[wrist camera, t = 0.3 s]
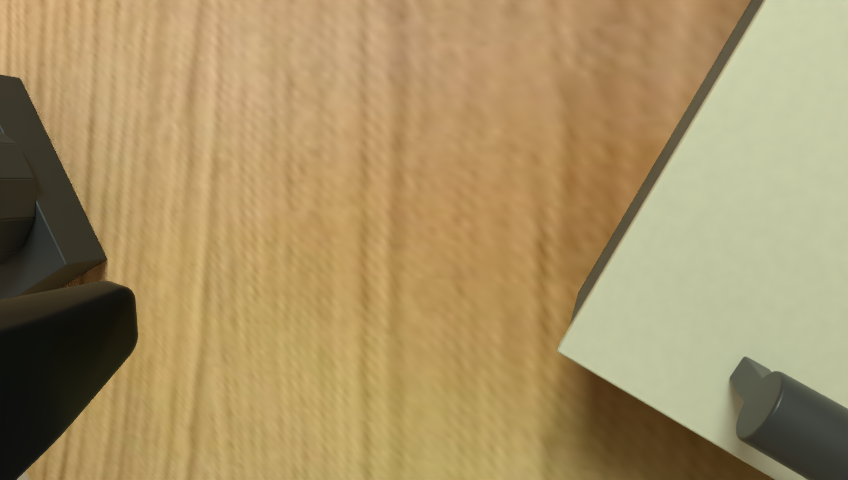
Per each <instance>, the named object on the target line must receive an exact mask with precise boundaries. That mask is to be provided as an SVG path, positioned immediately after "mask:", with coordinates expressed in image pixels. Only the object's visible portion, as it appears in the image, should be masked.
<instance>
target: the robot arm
mask: <svg viewBox="0 0 848 480" xmlns="http://www.w3.org/2000/svg"><path fill="white" fill-rule="evenodd" d="M137 339H138V328H137V314H136V301H135V295H134V294H133V292H132V290H130V289H129V288H128V287H125V286H122V285H119V284H116V283H114V282H111V281H97V282H92V283H86V284H81V285H76V286H71V287H65V288H60V289H55V290H49V291H44V292H39V293H34V294H28V295H23V296H18V297H13V298H7V299H2V300H0V480H17V479H18V478H19V477H20V476H21V475H22V474H23V473H24V472H25V471H26V470H27V469H28V468H29V467H30V466H31V465H32V464H33V463H34V462H35V461H36V460H37V459H38V458H39V457H40V456H41V455H42V454H43V453H44V452H45V451H46V450H47V449H48V448H49V447H50V446H51V445H52V444H53V443H54V442H55V441H56V440H57V439H58V438H59V437H60V436H61V435H62V434H63V433H64V431H65V430H66V429H67V428H68V427H69V426H70V425H71V424H72V423H73V421H74V420H75V419H76V418H77V417H78V416H79V414H80V413H81V412H82V411H83V410H84V409H85V407H86V406H87V405H88V404H89V403H90V401H91V400H92V399H93V398H94V397H95V396H96V394H97V393H98V392H99V391H100V390H101V389H102V387H103V386H104V385H105V384H106V383H107V382H108V380H109V379H110V378H111V377H112V376H113V375H114V373H115V372H116V371H117V370H118V369H119V367H120V366H121V365H122V364H123V363H124V362H125V360H126V359H127V358H128V357H129V356H130V355H131V353H132V352H133V350H134V348H135V346H136V343H137Z"/></svg>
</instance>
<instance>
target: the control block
mask: <svg viewBox="0 0 848 480" xmlns="http://www.w3.org/2000/svg"><path fill="white" fill-rule="evenodd" d="M104 260H106V256H105V254H104V252H103V250H102V248H101V246H100V244H99V242H98V240H97V238H96V235H95V233H94V231H93V229H92V227H91V225H90V223H89V221H88V219H87V217H86V215H85V213H84V210H83V208H82V206H81V204H80V202H79V200H78V198H77V196H76V194H75V192H74V190H73V188H72V186H71V183H70V181H69V179H68V177H67V175H66V173H65V171H64V169H63V167H62V165H61V163H60V161H59V159H58V156H57V154H56V152H55V150H54V148H53V146H52V144H51V142H50V140H49V138H48V136H47V134H46V132H45V129H44V127H43V125H42V123H41V121H40V119H39V117H38V115H37V113H36V111H35V109H34V107H33V105H32V102H31V100H30V98H29V96H28V94H27V92H26V90H25V88H24V86H23V84H22V82H21V80H20V78H16V77H11V76H5V75H0V300H2V299H7V298H13V297H18V296H23V295H28V294H34V293H39V292H44V291H49V290H55V289H59V288H60V287H62V286H64V285H65V284H67V283H68V282H70V281H72V280H73V279H75V278H77V277H78V276H80V275H81V274H83V273H85V272H86V271H88V270H90V269H91V268H93V267H94V266H96V265H98V264H99V263H101V262H102V261H104Z"/></svg>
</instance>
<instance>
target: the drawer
mask: <svg viewBox="0 0 848 480" xmlns="http://www.w3.org/2000/svg"><path fill="white" fill-rule="evenodd" d="M763 1H764V0H751V2H750V3H749V5H748V7H747V8H746V10H745V12H744V13H743V15H742V17H741V19H740V20H739V22H738V24H737V25H736V27H735V29H734V30H733V32H732V34H731V35H730V37H729V39H728V41H727V42H726V44H725V46H724V47H723V49H722V51H721V52H720V54H719V56H718V57H717V59H716V61H715V63H714V64H713V66H712V68H711V69H710V71H709V73H708V74H707V76H706V78H705V79H704V81H703V83H702V85H701V86H700V88H699V90H698V91H697V93H696V95H695V96H694V98H693V100H692V101H691V103H690V105H689V106H688V108H687V110H686V112H685V113H684V115H683V117H682V118H681V120H680V122H679V123H678V125H677V127H676V128H675V130H674V132H673V134H672V135H671V137H670V139H669V140H668V142H667V144H666V145H665V147H664V149H663V150H662V152H661V154H660V156H659V157H658V159H657V161H656V162H655V164H654V166H653V167H652V169H651V171H650V172H649V174H648V176H647V178H646V179H645V181H644V183H643V184H642V186H641V188H640V189H639V191H638V193H637V194H636V196H635V198H634V200H633V201H632V203H631V205H630V206H629V208H628V210H627V211H626V213H625V215H624V216H623V218H622V220H621V222H620V223H619V225H618V227H617V228H616V230H615V232H614V233H613V235H612V237H611V238H610V240H609V242H608V244H607V245H606V247H605V249H604V250H603V252H602V254H601V255H600V257H599V259H598V260H597V262H596V264H595V266H594V267H593V269H592V271H591V272H590V274H589V276H588V277H587V279H586V281H585V282H584V284H583V286H582V288H581V289H580V291H579V293H578V296H577V300H576V304H575V308H574V312H573V316H572V320H571V323H572V321H573V320H574V318H575V316H576V315H577V313H578V311H579V310H580V308H581V306H582V305H583V303H584V301H585V300H586V298H587V296H588V295H589V293H590V291H591V289H592V288H593V286H594V284H595V283H596V281H597V279H598V278H599V276H600V274H601V273H602V271H603V269H604V268H605V266H606V264H607V263H608V261H609V259H610V258H611V256H612V254H613V253H614V251H615V249H616V247H617V246H618V244H619V242H620V241H621V239H622V237H623V236H624V234H625V232H626V231H627V229H628V227H629V226H630V224H631V222H632V221H633V219H634V217H635V216H636V214H637V212H638V211H639V209H640V207H641V205H642V204H643V202H644V200H645V199H646V197H647V195H648V194H649V192H650V190H651V189H652V187H653V185H654V184H655V182H656V180H657V179H658V177H659V175H660V174H661V172H662V170H663V169H664V167H665V165H666V164H667V162H668V160H669V158H670V157H671V155H672V153H673V152H674V150H675V148H676V147H677V145H678V143H679V142H680V140H681V138H682V137H683V135H684V133H685V132H686V130H687V128H688V127H689V125H690V123H691V122H692V120H693V118H694V116H695V115H696V113H697V111H698V110H699V108H700V106H701V105H702V103H703V101H704V100H705V98H706V96H707V95H708V93H709V91H710V90H711V88H712V86H713V85H714V83H715V81H716V80H717V78H718V76H719V75H720V73H721V71H722V69H723V68H724V66H725V64H726V63H727V61H728V59H729V58H730V56H731V54H732V53H733V51H734V49H735V48H736V46H737V44H738V43H739V41H740V39H741V38H742V36H743V34H744V33H745V31H746V29H747V27H748V26H749V24H750V22H751V21H752V19H753V17H754V16H755V14H756V12H757V11H758V9H759V7H760V6H761V4H762V2H763ZM570 325H571V324H570Z"/></svg>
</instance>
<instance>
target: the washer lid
mask: <svg viewBox="0 0 848 480" xmlns="http://www.w3.org/2000/svg"><path fill="white" fill-rule="evenodd" d="M557 351H558V352H559V353H560V354H562V355H564V356H565V357H567V358H569V359H571V360H572V361H574V362H576V363H577V364H579V365H581V366H582V367H584V368H586V369H587V370H589V371H591V372H593V373H594V374H596V375H598V376H599V377H601V378H603V379H604V380H606V381H608V382H610V383H611V384H613V385H615V386H616V387H618V388H620V389H621V390H623V391H625V392H627V393H628V394H630V395H632V396H633V397H635V398H637V399H638V400H640V401H642V402H644V403H645V404H647V405H649V406H650V407H652V408H654V409H655V410H657V411H659V412H660V413H662V414H664V415H666V416H667V417H669V418H671V419H672V420H674V421H676V422H677V423H679V424H681V425H683V426H684V427H686V428H688V429H689V430H691V431H693V432H694V433H696V434H698V435H700V436H701V437H703V438H705V439H706V440H708V441H710V442H711V443H713V444H715V445H717V446H718V447H720V448H722V449H723V450H725V451H727V452H728V453H730V454H732V455H733V456H735V457H737V458H739V459H740V460H742V461H744V462H745V463H747V464H749V465H750V466H752V467H754V468H756V469H757V470H759V471H761V472H762V473H764V474H766V475H767V476H769V477H771V478H773V479H774V480H848V0H764V1H763V2H762V4H761V6H760V7H759V9H758V11H757V12H756V14H755V16H754V17H753V19H752V21H751V22H750V24H749V26H748V27H747V29H746V31H745V33H744V34H743V36H742V38H741V39H740V41H739V43H738V44H737V46H736V48H735V49H734V51H733V53H732V54H731V56H730V58H729V59H728V61H727V63H726V64H725V66H724V68H723V69H722V71H721V73H720V75H719V76H718V78H717V80H716V81H715V83H714V85H713V86H712V88H711V90H710V91H709V93H708V95H707V96H706V98H705V100H704V101H703V103H702V105H701V106H700V108H699V110H698V111H697V113H696V115H695V116H694V118H693V120H692V122H691V123H690V125H689V127H688V128H687V130H686V132H685V133H684V135H683V137H682V138H681V140H680V142H679V143H678V145H677V147H676V148H675V150H674V152H673V153H672V155H671V157H670V158H669V160H668V162H667V164H666V165H665V167H664V169H663V170H662V172H661V174H660V175H659V177H658V179H657V180H656V182H655V184H654V185H653V187H652V189H651V190H650V192H649V194H648V195H647V197H646V199H645V200H644V202H643V204H642V205H641V207H640V209H639V211H638V212H637V214H636V216H635V217H634V219H633V221H632V222H631V224H630V226H629V227H628V229H627V231H626V232H625V234H624V236H623V237H622V239H621V241H620V242H619V244H618V246H617V247H616V249H615V251H614V253H613V254H612V256H611V258H610V259H609V261H608V263H607V264H606V266H605V268H604V269H603V271H602V273H601V274H600V276H599V278H598V279H597V281H596V283H595V284H594V286H593V288H592V289H591V291H590V293H589V295H588V296H587V298H586V300H585V301H584V303H583V305H582V306H581V308H580V310H579V311H578V313H577V315H576V316H575V318H574V320H573V321H572V323H571V325H570V326H569V328H568V330H567V331H566V333H565V335H564V336H563V338H562V340H561V342H560V343H559V346H558V350H557Z"/></svg>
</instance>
